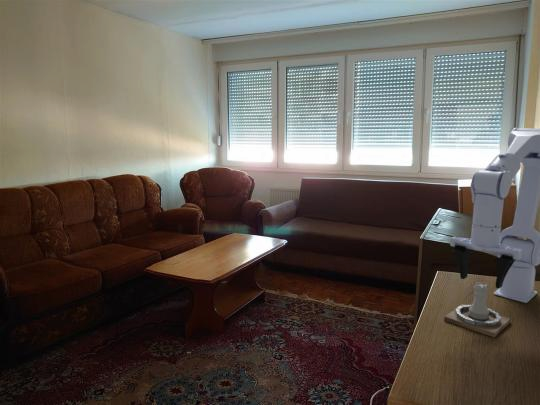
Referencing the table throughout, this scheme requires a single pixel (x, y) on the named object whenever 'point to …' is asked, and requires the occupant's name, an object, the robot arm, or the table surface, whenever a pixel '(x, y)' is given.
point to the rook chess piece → (479, 302)
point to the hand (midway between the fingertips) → (480, 282)
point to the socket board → (478, 321)
